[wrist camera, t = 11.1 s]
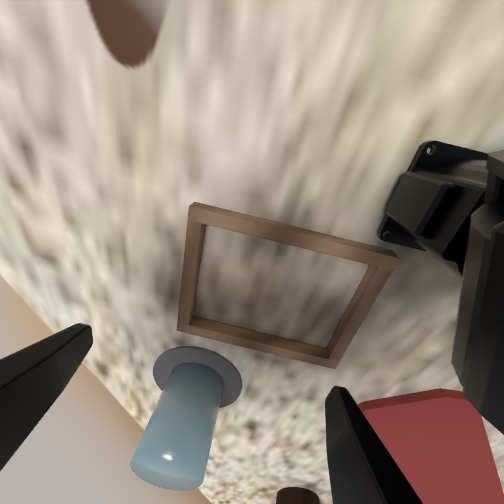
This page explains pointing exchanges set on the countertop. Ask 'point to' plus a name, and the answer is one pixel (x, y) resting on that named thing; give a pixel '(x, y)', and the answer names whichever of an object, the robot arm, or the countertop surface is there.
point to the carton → (438, 446)
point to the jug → (180, 429)
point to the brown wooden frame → (319, 242)
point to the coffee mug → (296, 496)
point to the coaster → (202, 356)
